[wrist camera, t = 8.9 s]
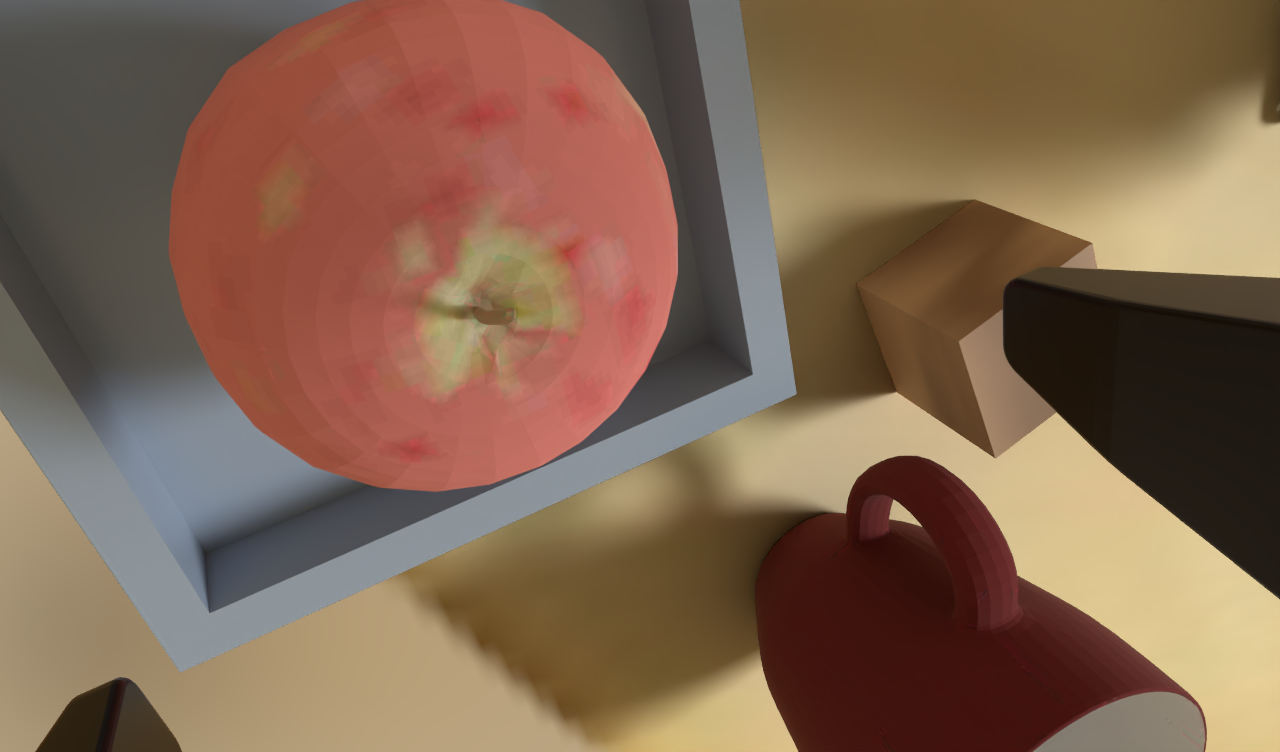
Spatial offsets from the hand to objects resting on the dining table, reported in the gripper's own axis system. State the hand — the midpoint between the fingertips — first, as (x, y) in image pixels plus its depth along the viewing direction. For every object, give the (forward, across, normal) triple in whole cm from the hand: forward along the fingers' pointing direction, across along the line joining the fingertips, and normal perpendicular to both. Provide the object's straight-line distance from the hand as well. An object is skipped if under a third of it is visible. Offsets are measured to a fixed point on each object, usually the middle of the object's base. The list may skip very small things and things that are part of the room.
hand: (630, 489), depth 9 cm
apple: (+12, 0, 0) cm, 12 cm away
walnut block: (+12, -13, +8) cm, 19 cm away
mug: (+12, -8, +14) cm, 20 cm away
